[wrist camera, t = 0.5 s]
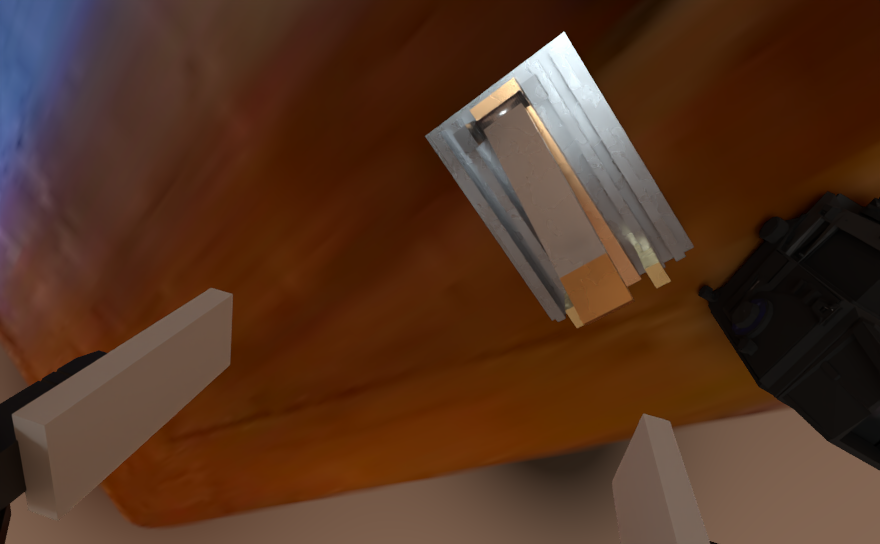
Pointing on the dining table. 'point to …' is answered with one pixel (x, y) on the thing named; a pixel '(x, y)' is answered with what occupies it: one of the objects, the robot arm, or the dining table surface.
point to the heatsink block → (584, 166)
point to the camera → (814, 319)
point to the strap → (554, 211)
